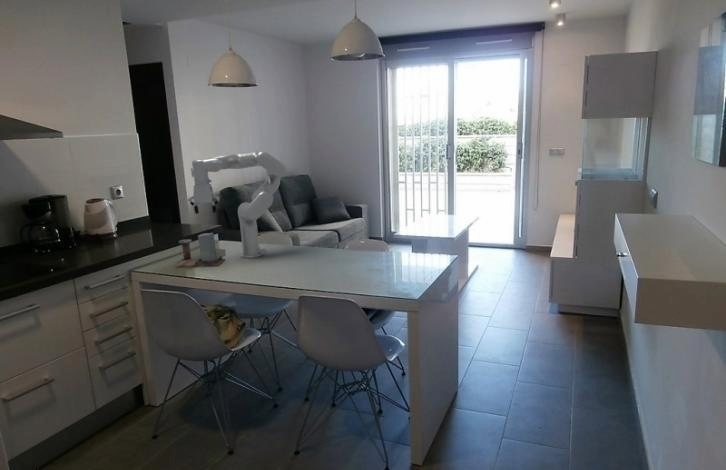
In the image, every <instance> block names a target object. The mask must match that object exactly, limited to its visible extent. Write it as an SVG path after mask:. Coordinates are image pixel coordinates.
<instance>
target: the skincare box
mask: <svg viewBox="0 0 726 470" xmlns="http://www.w3.org/2000/svg"><path fill="white" fill-rule="evenodd" d="M197 239H198V245H199V252H200V258H201V259H202V261H215V260H216V259H218V255H217V249H216V241H215V235H214V232H206V233H205V232H204V233H201V234H199V235H197Z"/></svg>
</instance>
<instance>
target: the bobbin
mask: <svg viewBox="0 0 726 470" xmlns="http://www.w3.org/2000/svg"><path fill="white" fill-rule="evenodd" d="M190 243H193V241H192V238H191V239H189V238H188V239H181V240H178V244H180V245H181V248H182V255H183V256H182V257H183V258H182V259H180V262H182V261H183V260H195V258H194V257H192V254H191V248H190Z"/></svg>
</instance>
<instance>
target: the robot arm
mask: <svg viewBox="0 0 726 470" xmlns="http://www.w3.org/2000/svg"><path fill="white" fill-rule="evenodd" d="M191 165H192V172H193V173H192V174H193V179H194V180H193V181H194V185H193V195H192V196H191V197H190V198H188V199H187V201H188V203H190V205H191V206H192V207H193V210H194V213H195V215H198V214H199V213H200V212H199V206H198V204H207V203H209V204H211V205H212V206H211V207H212V208H211V209H212V213H213V214H214V213H217V204H218V203H219V202H220V199H221V197H220V196H219V195H216V194H214V191H213V190H214V189H213V186H212V184H211V183H212V179H210V178H209V173H217V172H219V171H221V170H231V169H232V170H233V169H234V170H239V169H247V168H253V167H262V169H263V168H264V169H265V170H266V171H265V172H266V179H265V180H264V182H263V183H262V184H260V186H259V187H258V188H257V189H256V190H255V191H254V192H253V194H252V195H251V200H252V201H251V202H246V201H245V202H242V203H240V205H239V206H238V208H237V216H238V220H239V227H240V236H241V237H240V238H241V246H242V249H241V250H242V253H241V254H240V258H242V259H254V258H258V257H262V256H263V253H265V254H266V253H267V249H265V248H261V246H260V244H259V242H260V241H259V233H258V224H257V220H258V219H260V217H262V215H263V214H264V213H265V212H267V210H268V209H269V208H270V207H271V206H272V204H273V201H274V194H275V192H276V191H277V190H278V189H279V187H280V184H281V178H283V177H284V176H285V175H286V173H287V167H286V166H285V164H283V163H282V162H281V161H280V160H278V159H277V158H275V156H273V155H271V154H270V153H269V152H267V151H265V150H255V151H248V152H241V153H233V154H228V155H221V156H213V157H209V158H206V159H193V160H192V163H191ZM215 199H216V200H215Z"/></svg>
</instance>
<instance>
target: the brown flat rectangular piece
mask: <svg viewBox="0 0 726 470" xmlns="http://www.w3.org/2000/svg"><path fill="white" fill-rule="evenodd" d="M225 261H226V258H223V256H222V255H220V256H219V257H217V259H216V260H215V261H202V259H201V257H200V258H198V259H194V260H183V261H182V262H181V261H180V262H179V263H177V264H176V265H175V269H178V268H180V269H181V268H182V269H183V268H205V267H209V268H210V267H220V266H221V265H222V264H223V263H224V262H225Z"/></svg>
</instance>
